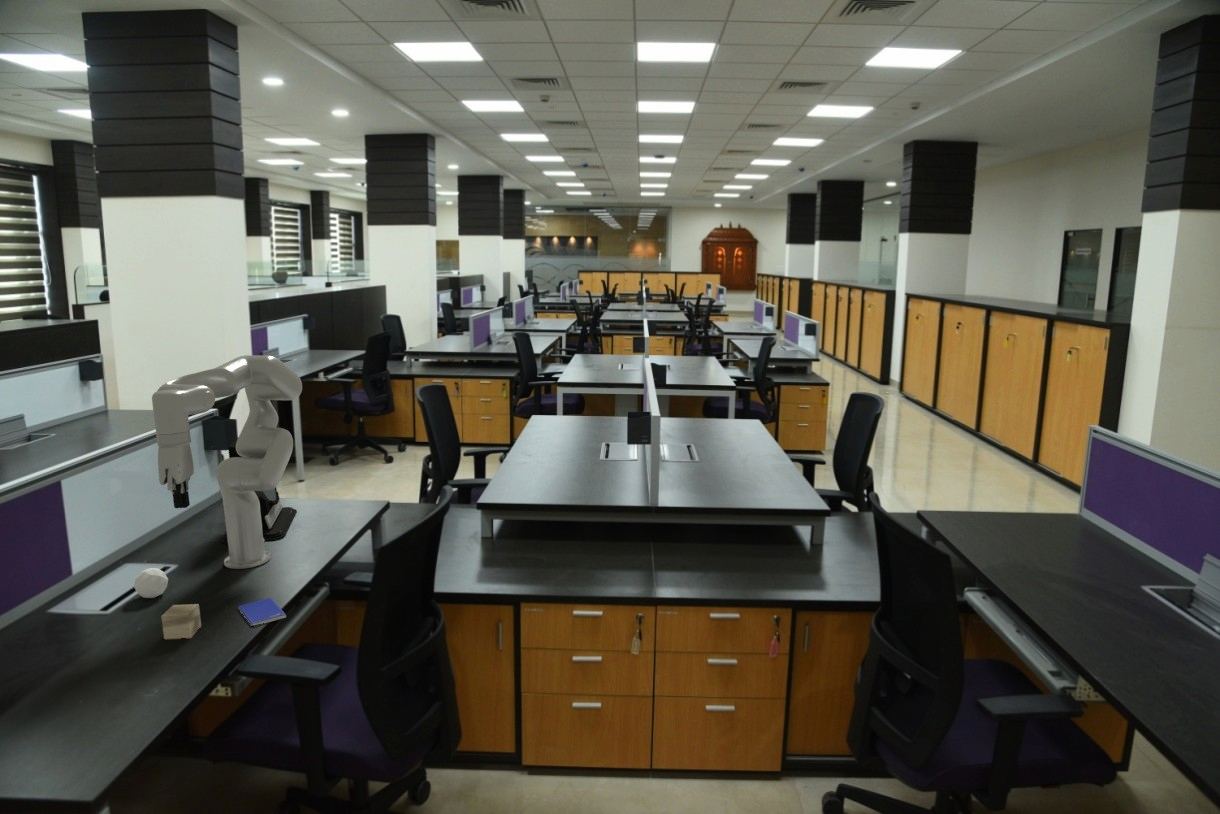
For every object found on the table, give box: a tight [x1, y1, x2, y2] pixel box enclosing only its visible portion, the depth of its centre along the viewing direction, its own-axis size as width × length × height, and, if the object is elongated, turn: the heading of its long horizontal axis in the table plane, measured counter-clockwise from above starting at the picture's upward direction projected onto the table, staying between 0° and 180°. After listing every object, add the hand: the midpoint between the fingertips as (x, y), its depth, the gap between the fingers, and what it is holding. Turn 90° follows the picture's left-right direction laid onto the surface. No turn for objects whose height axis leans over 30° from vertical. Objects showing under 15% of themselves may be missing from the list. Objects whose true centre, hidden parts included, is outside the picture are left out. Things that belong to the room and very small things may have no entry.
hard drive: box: [238, 597, 287, 627], centre depth 198 cm, size 2×8×12 cm
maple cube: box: [160, 603, 202, 640], centre depth 188 cm, size 6×6×6 cm
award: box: [221, 436, 298, 545], centre depth 259 cm, size 30×19×30 cm, turn 13°
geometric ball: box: [133, 567, 169, 599], centre depth 208 cm, size 8×8×8 cm
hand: (182, 506), depth 203 cm, fingers closed
